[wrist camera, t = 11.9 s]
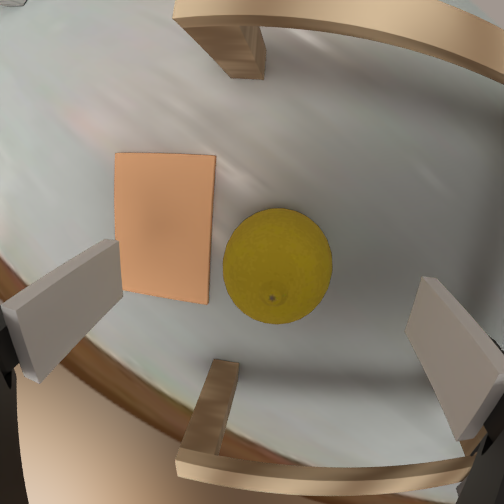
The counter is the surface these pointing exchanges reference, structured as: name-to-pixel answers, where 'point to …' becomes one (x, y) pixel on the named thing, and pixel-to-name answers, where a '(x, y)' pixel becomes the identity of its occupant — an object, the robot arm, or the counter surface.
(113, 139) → the counter surface
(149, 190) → the pad
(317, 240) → the lemon
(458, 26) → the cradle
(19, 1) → the skincare box
